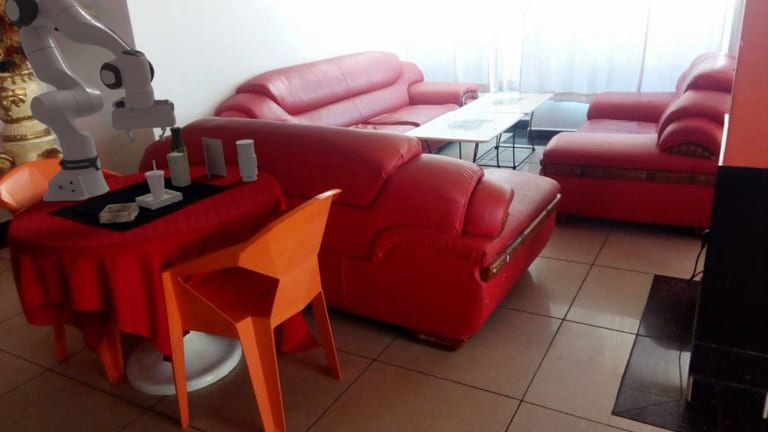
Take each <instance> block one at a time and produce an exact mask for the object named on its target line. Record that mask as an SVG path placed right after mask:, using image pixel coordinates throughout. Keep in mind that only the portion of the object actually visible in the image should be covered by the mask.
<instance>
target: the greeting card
mask: <svg viewBox="0 0 768 432" xmlns="http://www.w3.org/2000/svg"><path fill="white" fill-rule="evenodd" d="M201 140H202V143H201V145H202V148H203V152H204V159H205V166H206V172H207V175H208V177H209V179H211V175H216V176H221V175H222V177H227V169H226V164H225V163H226V162H225V156H224V149H223V142H222V139H218V138H210V137H205V136H204V137H201Z"/></svg>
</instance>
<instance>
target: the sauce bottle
mask: <svg viewBox="0 0 768 432" xmlns="http://www.w3.org/2000/svg"><path fill="white" fill-rule="evenodd" d="M181 131H182V129H181V127H180V126H174V127H169V132H170V136H171V137H170V138H171V140H170V143H169V151H170V152H169V154H172V153H184V154H186V159H187V165H188V170H189V171H190V165H189V160H188V158H189V157H188V152H187V146H186V145H185V142H184V140H183V137H182V133H181Z"/></svg>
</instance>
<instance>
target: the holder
mask: <svg viewBox="0 0 768 432" xmlns="http://www.w3.org/2000/svg"><path fill="white" fill-rule="evenodd" d="M139 206H140V205H138V203H136V202H131V203H130V202H129V203H118V204H116V203H115V204H107V206H105V207H104V209H102V211H101V212H100V213H99V214H98V219H99V223H100V225H102V223H105V224H113V222H116V223H123V222H125V223H126V222H127V221H128V222H133V221H134V220H135V218H136V217H137V215H138V214H139V213H138V212H140V207H139ZM135 216H136V217H135ZM132 220H133V221H132Z"/></svg>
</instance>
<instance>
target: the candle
mask: <svg viewBox="0 0 768 432" xmlns="http://www.w3.org/2000/svg"><path fill="white" fill-rule="evenodd" d="M254 142H255V141H254V140H253V139H241V140H237V141H235V144H236V148H237V149H236V150H237V162H238V167H239V175H240V176H241V177H242V179H241V181H242V180H243V181H242V182H253V181H256V180H257V179H258V177H257V175H258V173H259V172H258V168H257V166H258V162H257V154H255V146H254Z"/></svg>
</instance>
